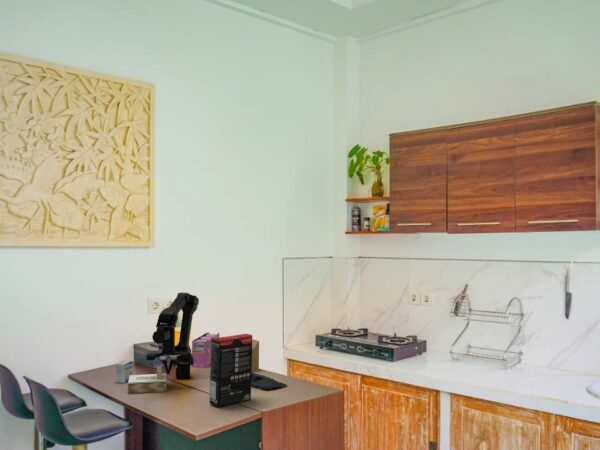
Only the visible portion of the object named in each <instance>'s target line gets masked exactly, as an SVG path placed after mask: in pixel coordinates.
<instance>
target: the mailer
mask: <svg viewBox="0 0 600 450" xmlns="http://www.w3.org/2000/svg"><path fill="white" fill-rule="evenodd" d="M151 392H152V393H164V392H165V393H166V392H167V381H166V382H154V383H136V384H128V383H127V394H128V395H131V394H134V395H136V394H151Z"/></svg>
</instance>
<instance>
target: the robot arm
mask: <svg viewBox="0 0 600 450" xmlns="http://www.w3.org/2000/svg"><path fill="white" fill-rule="evenodd" d="M199 304H200V299H199V297H197V295H193V294H190V293H189V292H178V293H177V295H176V297H175V299H174V300H173V301H172V303H170V305H169V306H168V307H167V308H164V309H163V310H162V311H160V313H159V315H158V318H157V322H156V324H155V325H156V326H155V328H156V331H154V332H153V334H152V338H151V339H152V341H153V342H154V343H155V344H157V345H158V351H161V352H157V351H155V350H153V351H151V350H150V351H147V352H146V361H155V359H158V358H159V362H161V363H162V364H163V366H164V368H165V371H166V375H170V374H171V373H170V372H171V370H172V367H173V366H176V367H175V368H174V369H175V372H174V373H175V378H176V380H187V379H189V380H190V379H192V378H191V367H192V365H193V364H194V358H193V356H192V347H190V338H191V329H192V323H193V322H192V321H193V316H194V314H195V312H196V311H197V310H198V306H199ZM181 311H182V317H181V323H180V331H179V339H178V343H177V344H176V328H177V322H178V321H179V313H180V312H181ZM168 358H169V363H168Z"/></svg>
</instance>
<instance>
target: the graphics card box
mask: <svg viewBox="0 0 600 450" xmlns="http://www.w3.org/2000/svg"><path fill="white" fill-rule="evenodd" d="M252 339H253V334H250V333H241V334H234V335H227V336H221V337H220V336H219V338H212V339H211V364H210V379H209V404H210V405H212V406H215V407H217V408H220V407H224V406H229V405H234V404H238V403H242V402H241V401H243V402H247V401H250V400H252V399H251V397H252V386H251V373H253V372H252ZM249 399H250V400H249ZM246 400H247V401H246ZM237 402H238V403H237ZM233 403H234V404H233Z"/></svg>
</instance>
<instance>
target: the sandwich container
mask: <svg viewBox="0 0 600 450" xmlns="http://www.w3.org/2000/svg"><path fill="white" fill-rule="evenodd" d="M259 365H260V341H259V340H257V339H254V338H252V373H255V372H256V371H257V370H258V371H259V369H260V366H259Z"/></svg>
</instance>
